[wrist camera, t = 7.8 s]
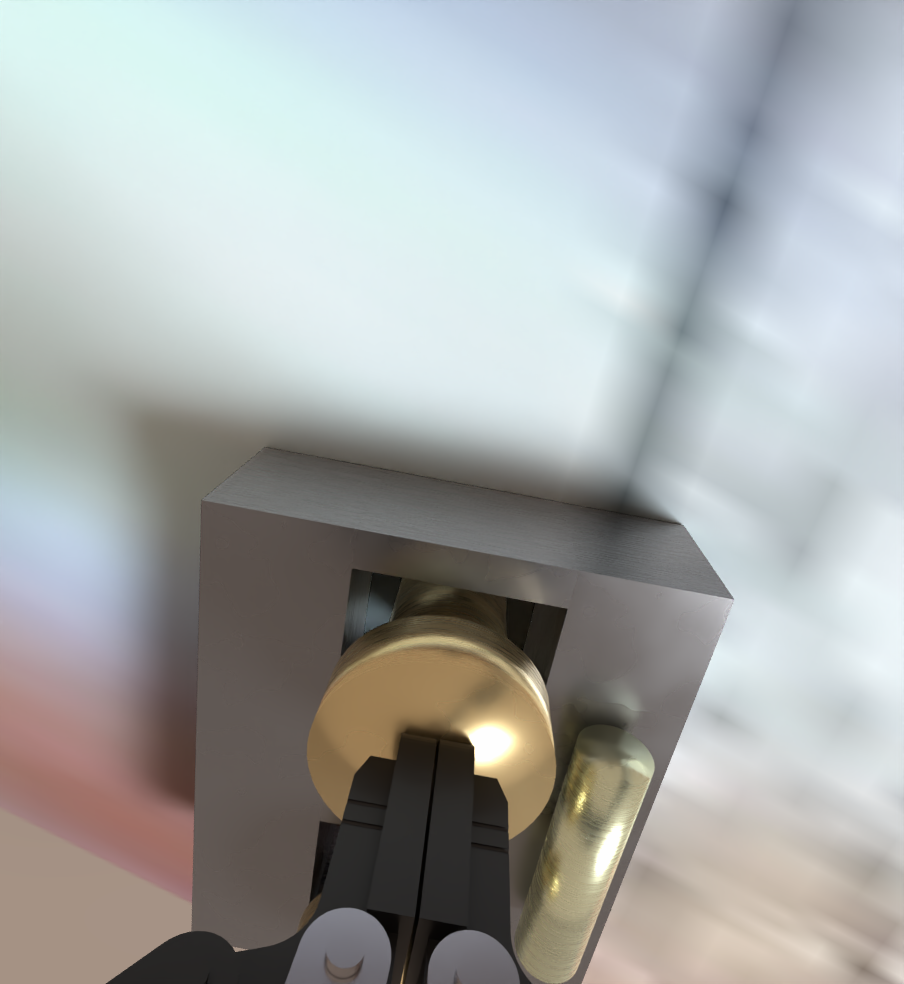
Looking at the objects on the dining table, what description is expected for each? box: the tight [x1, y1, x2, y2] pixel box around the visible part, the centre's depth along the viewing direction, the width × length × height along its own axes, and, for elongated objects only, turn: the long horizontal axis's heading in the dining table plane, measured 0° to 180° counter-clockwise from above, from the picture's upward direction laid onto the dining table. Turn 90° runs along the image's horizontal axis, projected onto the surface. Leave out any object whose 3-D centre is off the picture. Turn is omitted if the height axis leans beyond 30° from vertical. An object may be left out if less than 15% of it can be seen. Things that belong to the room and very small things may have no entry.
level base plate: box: [192, 447, 734, 984], centre depth 17 cm, size 15×12×6 cm
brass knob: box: [307, 578, 556, 840], centre depth 15 cm, size 5×5×7 cm
